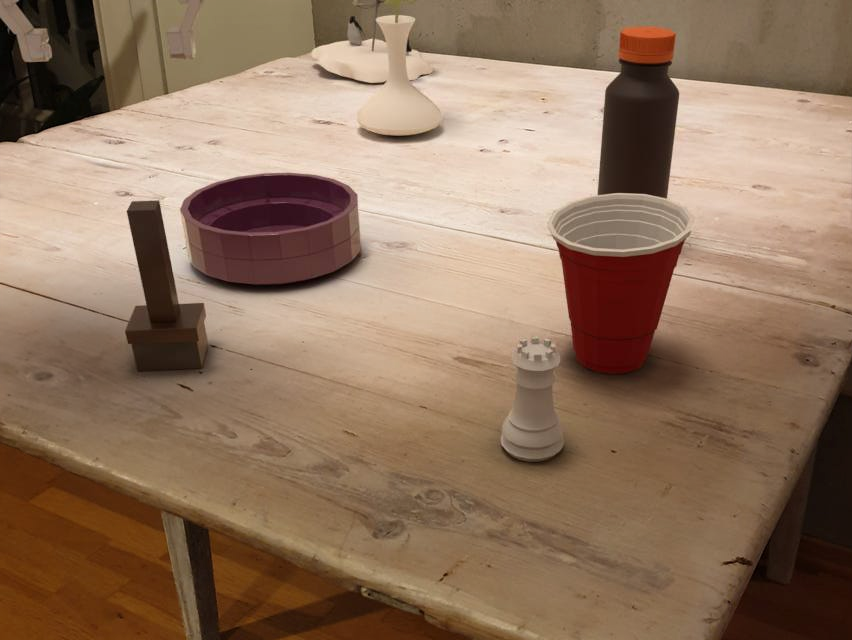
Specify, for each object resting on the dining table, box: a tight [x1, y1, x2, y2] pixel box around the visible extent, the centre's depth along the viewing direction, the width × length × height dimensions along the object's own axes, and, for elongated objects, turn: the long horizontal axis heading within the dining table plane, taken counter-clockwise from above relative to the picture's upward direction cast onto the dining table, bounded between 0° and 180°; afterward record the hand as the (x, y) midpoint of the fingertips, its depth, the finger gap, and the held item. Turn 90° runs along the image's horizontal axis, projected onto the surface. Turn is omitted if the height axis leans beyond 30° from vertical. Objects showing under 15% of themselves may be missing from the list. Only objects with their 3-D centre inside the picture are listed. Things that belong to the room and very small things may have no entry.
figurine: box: [309, 0, 434, 84], centre depth 151 cm, size 20×18×16 cm
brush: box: [124, 200, 209, 372], centre depth 74 cm, size 5×4×13 cm
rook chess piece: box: [500, 336, 565, 463], centre depth 65 cm, size 4×4×8 cm
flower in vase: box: [355, 0, 444, 137], centre depth 122 cm, size 13×11×25 cm
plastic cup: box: [546, 193, 695, 375], centre depth 75 cm, size 11×11×12 cm
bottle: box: [596, 26, 680, 199], centre depth 92 cm, size 7×7×20 cm
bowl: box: [179, 172, 362, 286], centre depth 93 cm, size 16×16×6 cm
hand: (111, 58), depth 65 cm, fingers open, 8 cm apart
